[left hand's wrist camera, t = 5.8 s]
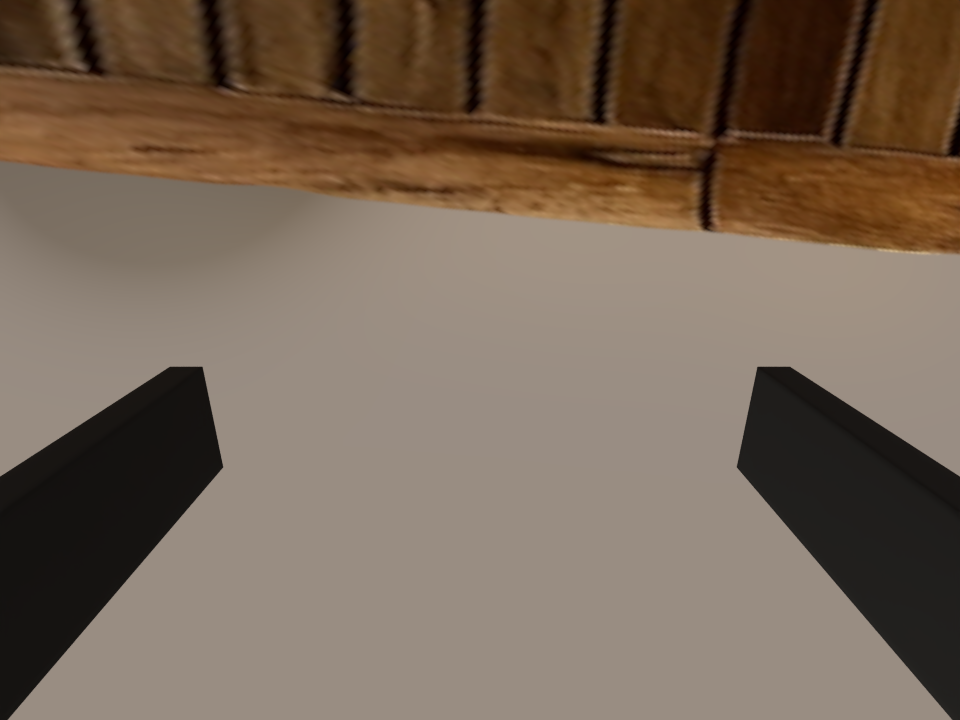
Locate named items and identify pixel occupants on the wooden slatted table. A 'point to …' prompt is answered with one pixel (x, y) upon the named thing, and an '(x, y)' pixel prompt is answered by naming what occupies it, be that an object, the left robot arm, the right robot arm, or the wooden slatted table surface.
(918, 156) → the wooden slatted table surface
